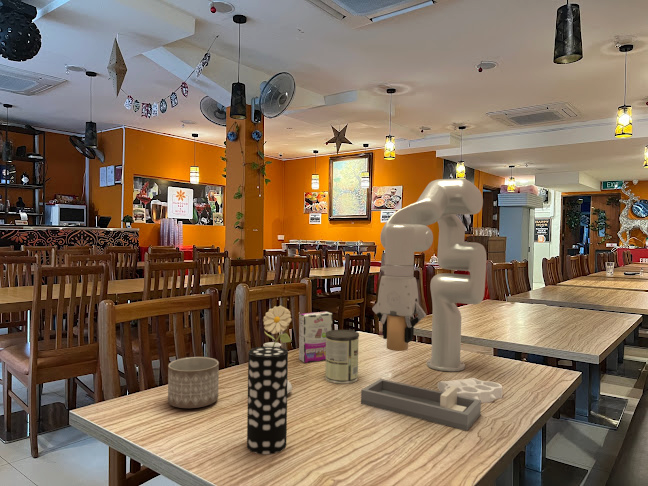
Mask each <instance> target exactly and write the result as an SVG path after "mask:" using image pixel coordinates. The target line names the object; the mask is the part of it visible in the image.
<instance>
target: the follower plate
mask: <svg viewBox="0 0 648 486" xmlns="http://www.w3.org/2000/svg"><path fill="white" fill-rule="evenodd" d="M440 407H444V408H449V409H453V410H457V411H461V412H465V411H466V409H467V407H464V406H459V405H457V387H455V386H451V387H450V388H448V389H447V390H446V391H445V392H444V393H443V394H441V395H440Z"/></svg>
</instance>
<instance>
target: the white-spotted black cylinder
mask: <svg viewBox="0 0 648 486" xmlns="http://www.w3.org/2000/svg"><path fill="white" fill-rule="evenodd" d="M247 354H248V355H247V356H248V357H247V361H248V362H247V363H248V364H247V416H246V417H247V423H246V427H247V428H246V429H247V430H246V432H247V433H246V436H247V437H246V438H247V439H246V446H247V449H248V450H249V451H250V452H252V453H254V454H259V455H273V454H276V453H279V452H282V451H283V450H284V449H285V448H286V447H287V438H288V437H287V435H288V434H287V433H288V432H287V430H288V429H287V427H288V426H287V425H288V421H287V420H288V394H287V380H288V368H289V364H288V363H289V350H288V349H286V348H283V347H281V346H280V347H264V346H260V347H259V346H258V347H254V348H251V349H250V350H248V353H247ZM288 381H289V380H288ZM281 450H282V451H281Z"/></svg>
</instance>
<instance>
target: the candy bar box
mask: <svg viewBox="0 0 648 486" xmlns="http://www.w3.org/2000/svg"><path fill="white" fill-rule="evenodd" d="M298 316H299V317H298V333H299V334H298V336H299V337H298V344H299V345H298V360H299V361H301V362H302V363H303V364H308V363H314V362H322V361H326V332H328V331H331V330H333V313H332V312H330V311H320V312H319V311H318V312H307V313H299V315H298Z"/></svg>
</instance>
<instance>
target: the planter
mask: <svg viewBox="0 0 648 486" xmlns="http://www.w3.org/2000/svg"><path fill="white" fill-rule="evenodd" d="M219 365H220V362H219V361H218V359H216V358H212V357H208V356H207V357H206V356H191V357H181V358H178V359H176V360H172V361H170V362H169V363H168V364H167V367H168V369H167V371H168V372H167V373H168V375H167V377H168V378H167V381H168V383H167V402H168V403H169V405H171V406H173V407H175V408H180V409H196V408H197V409H198V408H201V407H206V406H209V405H212V404H214V403H216V401H218V399H219V378H220V377H219V376H220V374H219V371H220V370H219V369H220V368H219Z"/></svg>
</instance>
